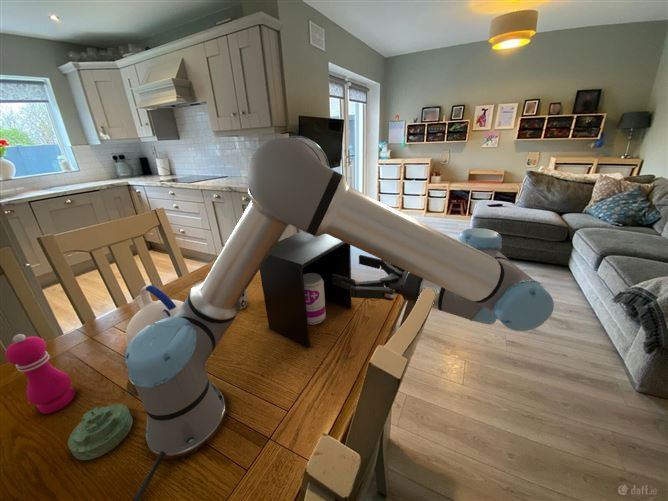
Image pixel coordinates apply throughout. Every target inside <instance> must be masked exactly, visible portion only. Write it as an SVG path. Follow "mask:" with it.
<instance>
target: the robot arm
mask: <svg viewBox="0 0 668 501" xmlns="http://www.w3.org/2000/svg"><path fill="white" fill-rule="evenodd" d="M246 177H247V178H246V179H247V184H248V188H247V193H248V195H249V198H250V202H249V203H248V205H247V207H246V209H245V210H244V212H243V214H242V215H241V217H240V219H239V220H238V222H237V224H236V225H235V227H234V230H233V231H232V232H231V234H230V236H229V238H228V240H227V242H225V245H224V246H223V249H222V250H221V252H220V254H219V255H218V257H217V259H216V260H215V262H214V264H213V266H212V267H211V269H210V270H209V272H208V274H207V276H206V277H205V279H204V281H199V282H197V283H195V284H194V285H193V287H192V288H191V289H190V292H189V293H188V295H187V297H186V299H185V300H184V301H183V302H184V303H183V305H182V306H181V308H180V309H179V310H178V311H177V312H176V314H175V315H174V316H173V317H169V318H165V319H161V320H159V321H156V322H155V324H154V325H148V326H147V327H145V328H144V329H143V330H141V331H140V332H139V333H138V334H137V335H136V336H135V337H134V338H133V339H132V340H131V342H130V343H129V345H128V347H127V346H126V350H125V353H124V362H125V365H126V368H127V375H128V378H129V379H130V382H131V383H132V384H133V386H134V388H135V390H136V393H137V395H138V396H139V399H140V401H141V403H142V406H143V408H144V410H145V412H146V427H145V443H146V445H147V447H148V449H149V451H150V452H151V454H152V456H154V457H156V459H155V461H154V463H153V465H152V467H151V468H150V470H149V472H148V474H147V475H146V476H145V478H144V481H143V482H142V484H141V486H140V487H139V490H138V491H137V493H136V495H135V497H134V498H133V500H132V501H140V500H141V498H142V496H143V495H144V493H145V491H146V489H147V487H148V485H149V484H150V482H151V480H152V479H153V477H154V475H155V474H156V471H157V469H158V468H159V466H160V464H161V462H162V460H167V461H169V460H170V461H171V460H178V459H182V458H185V457H187V456H190V455H192V454H194V453H195V452H197V451H199V450H200V449H202V448H203V447H204V446H206V445H207V444H208V443H209V442H210V441H212V440H213V438H214V437H215V436H216V435H217V433H218V432H219V430H221V427H222V426H223V423H224V422H225V419H226V415H227V405H226V401H225V396H224V395H223V393H222V392H221V391H220V390H219V388H218V387H217V386H216V385H215V384H214V383H213V382H212V381H211V380H210V379H209V375H208V372H207V370H206V364H207V362H208V360H209V359H210V357H211V356H212V354H213V352H214V351H215V349H216V347H217V346H218V345H219V342H220V341H221V340H222V338H223V337H224V335H225V334H226V332H227V330H228V329H229V328H230V326H232V324H233V322H234V320H235V319H236V317H237V316H238V315H239V313H240V311H241V309H240V308H241V301H240V298H241V296H242V295H243V293H244V292H245V290H246V289H247V290H248V287H249V286H250V284H251V283H252V281H253V280H254V278H255V276H256V275H257V274H258V272H260V268H261V266H262V265H263V263H264V262H265V260H266V259H267V257H268V255H269V254H270V252H271V251H272V249H273V248H274V246H275V245H276V243H277V242H278V241H280V239H281V238H282V236H283V234H284V233H285V232H286V230H287V229H288V227H289V226H292V227H294V228H296V229H298V230H300V231H304V232H307V233H309V234H311V235H313V236H316V237H317V236H320V235H323V234H328V235H330V236H332V237H334V238H336V239H339V240H341V241H343V242H345V243H347V244H349V245H350V246H352V247H354V248H356V249H358V250H361V251H362V252H365V253H367V254H369V255H371V256H367V255H363V254H359V255H358V265H361V266H365V267H370V268H374V269H377V270H379V269H380V270H381V271H384V272H385V273H386V274H387V276H385V277H381V278H380V279H376V280H375V279H374V280H365V281H356V279H354V278H351V279H350V278H347V277H344V276H340V275H337V274H332V284H334V285H337V286H340V287H342V288H344V289H347V290H350V291H351V299H371V300H385V301H388V302H393V301H394V299H395V298H394V297H395V295H400V296H402V299H403V300H404V301H407V302H410V303H412V304H416V301H417V299H418V296H419V295H420V293H421V292H422V291H423V289H425V288H428V289H432V290H433V291H434V292H435V290H436V291H437V294H436V293H435V294H436V298H435V300H434V304H433V306H432V308H431V309H433V310H437V311H441V312H442V313H447V314H450V315H453V316H457V317H460V318H463V319H466V320H469V321H470V322H476V323H480V324H484V325H489V326H491V325H494V324H495V323H496V322H497V320H498V321H499V322H500V323H501V324H503V326H504V327H505V328H508V329H509V330H511V331H516V332H526V331H531V330H535V329H537V328H539V327H541V326H542V325H544V324H545V323H546V321H548V319H549V318H551V316H552V314H553V312H554V308H555V307H554V306H555V302H554V298H553V297H552V295H551V294H550V292H549V291H547V290H546V289H545V288H544V287H543V285H541V282H539V281H538V280H535V279H534V278H532V277H531V276H530V275H528V274H527V273H526V272H525V271H523V270H522V269H521V268H520V267H519V266H517V265H516V264H515V263H513V261H511V260H510V259H509V258H508V257H507V256H505V255H504V254H503V253H502V252H501V249H502V248H503V246H502V242H503V238H502V235H501V234H500V233H499V232H497V231H495V230H491V229H487V228H481V227H480V228H478V227H476V228H475V227H473V228H467V229H464V230H462V231H460V233H459V236H458V239H457V238H455V237H453V236H451V235H449V234H447V233H445V232H442V231H441V230H439V229H436V228H435V227H432V226H431V225H429V224H427V223H424V222H422V221H420V220H418V219H417V218H415V217H413V216H410V215H408V214H406V213H404V212H402V211H400V210H398V209H397V208H395V207H392V206H390V205H388V204H386V203H384V202H381V201H379V200H378V199H376V198H374V197H372V196H370V195H367V194H365V193H363V192H361V191H360V190H357V189H355V188H353V187H351V186H349V184H348V181H347V179H346V176H345V175H343V174H342V173H340V172H338V171H336V170H334V169H333V168H330V163H329V159H328V157H327V155H326V153H325V151H324V150H323V149H322V148H321V146H320V145H318V144H317V143H316V142H315V141H314V140H312V139H310V138H308V137H306V136H302V135H291V136H287V137H276V138H275V137H274V138H271V139H269V140H267V141H265V142H263V143H262V144H261V145H260V146H258V148H257V149H256V150H254V152H253V154H252V155H251V157H250V160H249V162H248V165H247V171H246ZM372 256H374V257H372ZM437 288H438V290H437Z"/></svg>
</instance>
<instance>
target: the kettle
mask: <svg viewBox="0 0 668 501" xmlns="http://www.w3.org/2000/svg"><path fill="white" fill-rule="evenodd" d="M151 295H153V296H154V297H156V298H157V299H158V300H153V298H152V297H151ZM133 301H134V302H135V303H136V304H137V306H138V307H139V308H140V309H139V310H138V311H136V313H135V314H134V315H133V316H132V317H131V319H130V321H129V323H128V324H127V326H126V328H125V329H126V330H125V335H124V336H125V337H124V339H125V344H126V348H127V347H128V345H129V343H130V342H131V340H132V339H133V338H134V337H135V336H136V335H137V334H138V333H139V332H140V331H141V330H143V329H144V328H145V327H147V326H148V325H154V324H155V322H156V321H159V320H161V319H165V318H169V317H173V316H174V315H175V314H176V312H177V311H178V310H179V309H180V308H181V306H182V305H183V303H184V302H185V301H182V300H178V299H173V298H170V297H169V296H168V295H167V294H166V293H165V292H164V291H162V290H161V289H160V288H158V287H156V286H154V285H153V284H146V285H143V287H142V288H141V289H140V294H139V295H137V296H136V297H135V298H134V300H133Z"/></svg>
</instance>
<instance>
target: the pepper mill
mask: <svg viewBox="0 0 668 501" xmlns="http://www.w3.org/2000/svg"><path fill="white" fill-rule="evenodd" d="M12 341H13V342H12V343H11V344H10V345H9V346H8V347H7V348H6V350H5V353H4V356H5V359H6V361H7V362H8V363H10V364H12V365H15V368H16V369H17V371H18V372H20V373H23V374H24V375H25V376H26V379H27V387H26V397H27V400H28V402H29V403H30V404H32V405H36V408H37V409H38V411H39V412H40V413H41V414H45V415H47V414H51V413H55V412H57V411H60V410H61V409H63V408H64V407H66V406H68V405H69V403H71V402H72V401H73V400H74V398H75V396H76V392H75V390H74V388H73V386H71V385H72V378H70V376H69V375H68V374H67V373H66V372H65V371H63V370H60V369H59V368H56V367H54V366H53V365H52V364H51V362H50V354H49V352H48V351H47V345H48V344H47V342H46V341H45V340H44V339H43V338H41V337H39V336H34V335H33V336H32V335H31V336H26V335H25V334H23V333H18V334H16V335H14V336H13V337H12Z"/></svg>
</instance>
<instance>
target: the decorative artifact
mask: <svg viewBox="0 0 668 501" xmlns="http://www.w3.org/2000/svg"><path fill="white" fill-rule="evenodd" d="M133 422H134V420H133V416H132V414H131V412H130V410H129V408H128V406H126V405H124V404H122V403H117V404H115V403H114V404H110V405H107V406H103V407H100V406H99V405H97V406H96V407H94V408H92V409H90V410H89V411H87V412H85V413H84V414H83V415H82V418H81V421H80V422H79V423H78V424H77V425H76V426H75V427H74V428H73V430H72V431H71V433H70V435H69V437H68V439H67V446H68V449H69V450H70V452H71V453H72V455H73V456H74V458H76V459H77V460H80V461H90V460H94V459H97V458H99V457H102V456H103V455H105V454H107V453H109V452H110V451H112V450H113V449H115V448H116V447H117V446H118V445H119V444H120V443H121V442H122V441H123V440H124V439H125V438H126V437H127V435H128V434H129V433H130V431H131V429H132V426H133Z"/></svg>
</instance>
